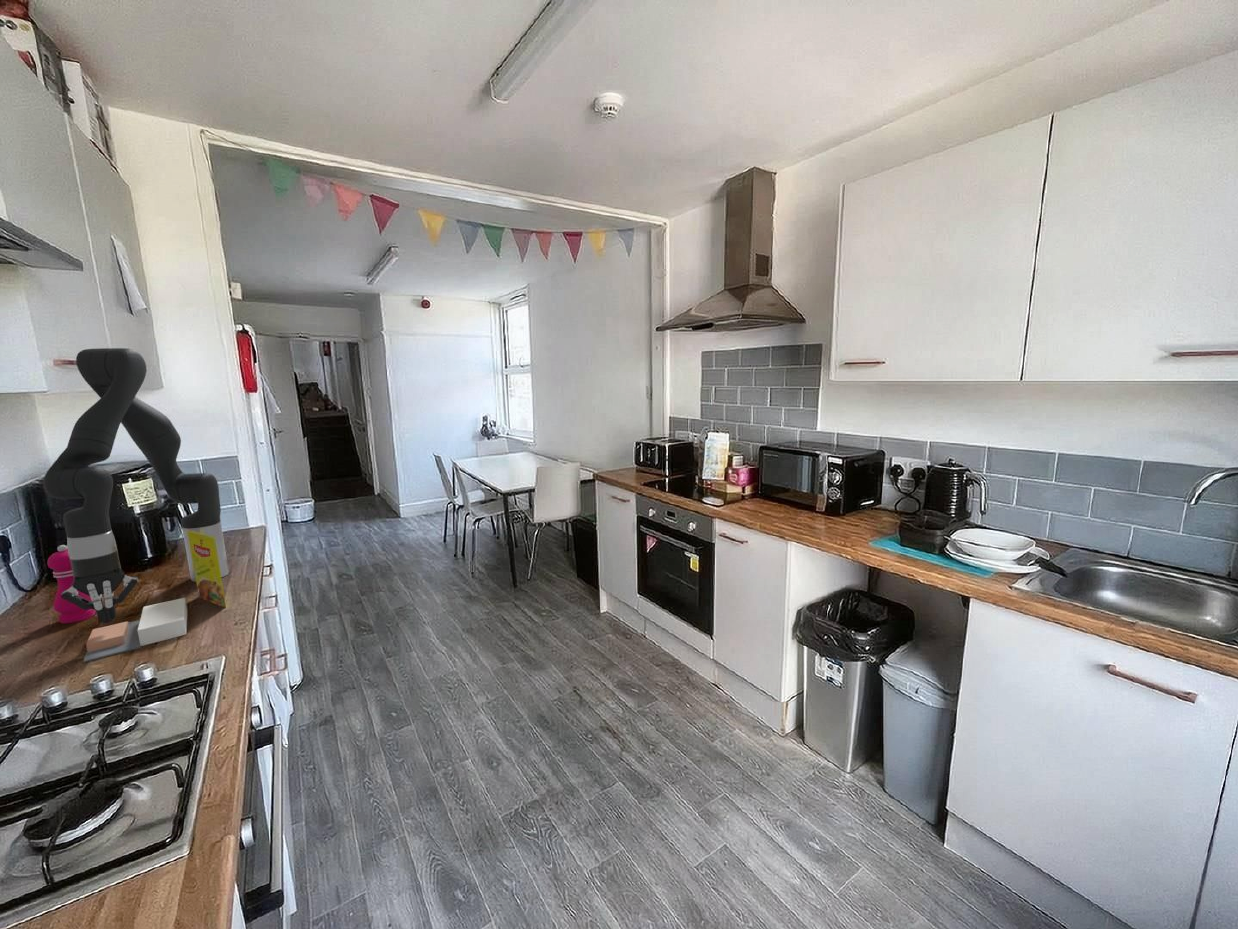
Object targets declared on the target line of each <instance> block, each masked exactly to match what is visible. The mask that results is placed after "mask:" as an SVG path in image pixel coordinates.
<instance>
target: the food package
mask: <svg viewBox="0 0 1238 929" xmlns="http://www.w3.org/2000/svg"><path fill="white" fill-rule="evenodd" d="M187 532H188V537H189V543H190V549H191V555H192V561H193V566H194V572H195V578H196V582H195V583H196V588H197V594H198V598H200V599H201V600H202V599H203V600H205V601H208V602H210V603H212V604H215V605H217V606H220V607H222V608H227V605H226V598H225V592H224V585H223V579H222V577H221V573H220V566H219V560H218V554H217V548H216V543H215V538H214V537H211V536H207V535H203V534H200V533H196V532H192V531H189V530H187Z"/></svg>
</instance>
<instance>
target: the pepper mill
mask: <svg viewBox="0 0 1238 929" xmlns="http://www.w3.org/2000/svg"><path fill="white" fill-rule="evenodd" d="M46 562H47V566H48V568H49V569H50V570H53V571H52V574H53V578H56V581H57V591H56V594H55V597H54V599H53V609H54V611H55V612H58V613H60V614H59V615H58V620H59V623H61V624H71V623H72V624H73V623H78V622H80V621H84V620H87V619H89V618H91V617H93V616H94V615H95V614H96V610H94V609H89V610H84V609H82V608H80V607H78V606H76V605H74V604H72V603H70V602H68V601H66V600H64V599H63V598H61V594H62V593H63V592H64V591H65V590H68V589H69V588H70V587H72V583H73V581H74V575H73V571H72V566H71V562H70V557H69V556H68V547H67V544H66V545H65V544H61V545H59V546H57V552H54V553H52V554H51V555H49V557H48V559H47V561H46ZM76 590H77V589H76ZM77 591H78V595H79V596H81V597H83V598H85V599H87V600H89V601H91V602H92V600H91V597H90V596H88V595H85V594H84V593H82V592H80V591H79V590H77Z"/></svg>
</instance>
